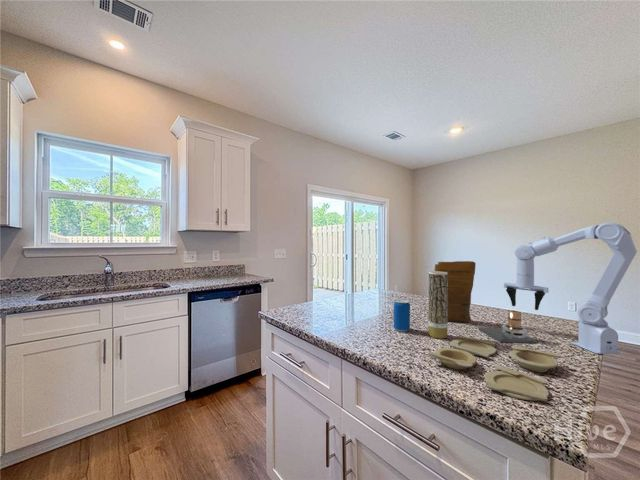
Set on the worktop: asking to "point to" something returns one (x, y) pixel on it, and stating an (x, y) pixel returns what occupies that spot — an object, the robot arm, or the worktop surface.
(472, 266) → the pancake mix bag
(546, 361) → the tableware set
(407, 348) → the worktop surface
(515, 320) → the brown banded cylinder
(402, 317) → the beverage can
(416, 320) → the worktop surface
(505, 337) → the collar stand
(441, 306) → the grey patterned cylinder
